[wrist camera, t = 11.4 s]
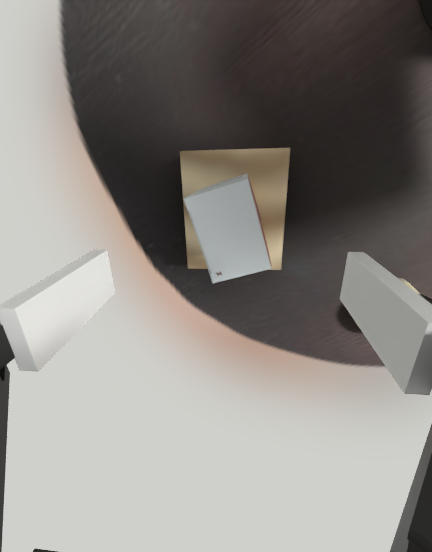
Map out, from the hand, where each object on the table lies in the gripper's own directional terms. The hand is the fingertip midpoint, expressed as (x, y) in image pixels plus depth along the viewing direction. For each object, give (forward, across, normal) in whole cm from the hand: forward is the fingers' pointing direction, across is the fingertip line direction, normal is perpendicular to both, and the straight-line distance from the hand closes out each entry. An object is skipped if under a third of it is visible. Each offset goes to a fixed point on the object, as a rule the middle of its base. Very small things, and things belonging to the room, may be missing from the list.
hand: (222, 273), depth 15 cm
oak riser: (+22, 0, 0) cm, 22 cm away
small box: (+19, 0, 0) cm, 19 cm away
